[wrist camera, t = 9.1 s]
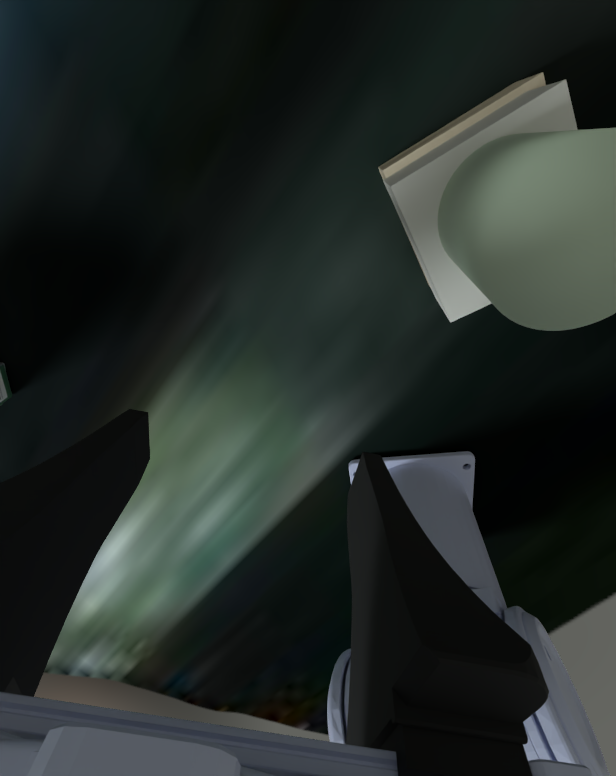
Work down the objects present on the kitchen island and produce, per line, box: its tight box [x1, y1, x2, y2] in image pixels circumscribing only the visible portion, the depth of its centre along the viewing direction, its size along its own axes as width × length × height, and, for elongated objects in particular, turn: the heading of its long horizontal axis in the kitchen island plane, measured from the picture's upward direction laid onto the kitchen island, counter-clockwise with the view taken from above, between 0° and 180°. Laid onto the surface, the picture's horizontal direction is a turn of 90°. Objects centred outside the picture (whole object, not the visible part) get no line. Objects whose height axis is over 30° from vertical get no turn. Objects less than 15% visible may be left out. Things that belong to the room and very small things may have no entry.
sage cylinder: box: [438, 128, 616, 331], centre depth 11 cm, size 4×4×5 cm
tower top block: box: [383, 79, 578, 323], centre depth 15 cm, size 6×6×3 cm
